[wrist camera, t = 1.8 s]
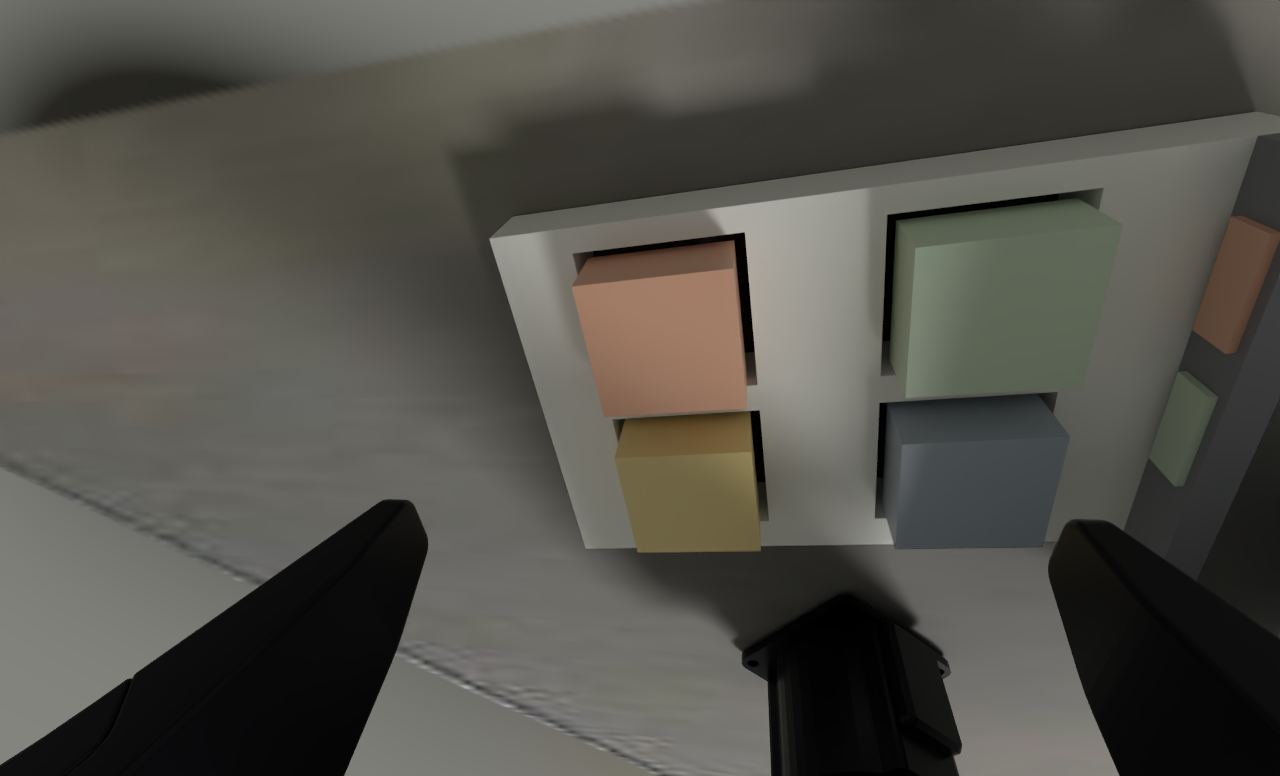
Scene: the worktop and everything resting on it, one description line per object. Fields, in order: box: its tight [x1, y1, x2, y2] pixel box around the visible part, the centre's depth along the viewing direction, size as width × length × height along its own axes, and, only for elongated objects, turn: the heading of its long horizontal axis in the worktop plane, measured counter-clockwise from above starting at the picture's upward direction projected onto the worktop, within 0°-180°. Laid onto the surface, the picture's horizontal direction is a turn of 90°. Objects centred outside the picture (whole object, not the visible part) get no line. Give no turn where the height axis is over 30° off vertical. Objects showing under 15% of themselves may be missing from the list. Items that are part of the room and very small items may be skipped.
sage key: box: [889, 198, 1123, 398], centre depth 15 cm, size 4×4×2 cm
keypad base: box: [489, 112, 1280, 581], centre depth 17 cm, size 19×12×4 cm, turn 100°
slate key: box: [882, 394, 1070, 549], centre depth 17 cm, size 4×4×2 cm
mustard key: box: [614, 412, 761, 553], centre depth 19 cm, size 4×4×2 cm
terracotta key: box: [572, 240, 747, 417], centre depth 16 cm, size 4×4×2 cm
